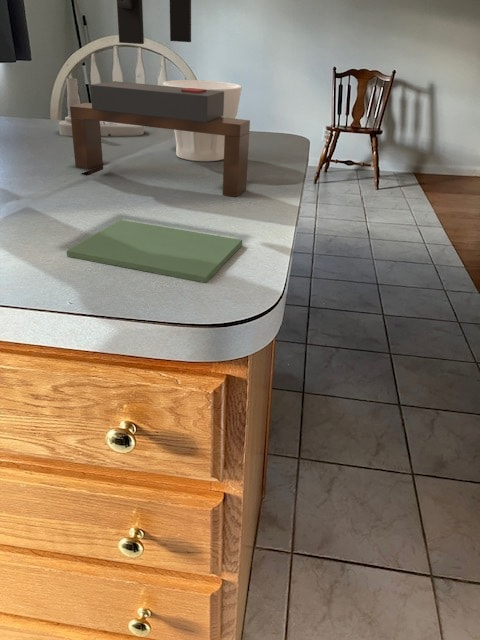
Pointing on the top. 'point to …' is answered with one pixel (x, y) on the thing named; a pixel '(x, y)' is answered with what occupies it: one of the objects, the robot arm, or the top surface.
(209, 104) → the remote
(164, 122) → the brown wooden arch
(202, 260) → the mat
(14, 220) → the top surface
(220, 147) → the cup
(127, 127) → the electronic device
